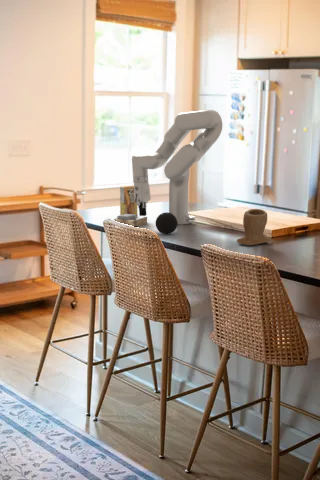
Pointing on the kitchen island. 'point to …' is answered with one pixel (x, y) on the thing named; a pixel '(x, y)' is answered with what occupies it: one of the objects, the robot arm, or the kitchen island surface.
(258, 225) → the stone cup
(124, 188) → the candy box
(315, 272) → the kitchen island surface
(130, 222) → the bay
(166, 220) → the speaker
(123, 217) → the crate
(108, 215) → the kitchen island surface
